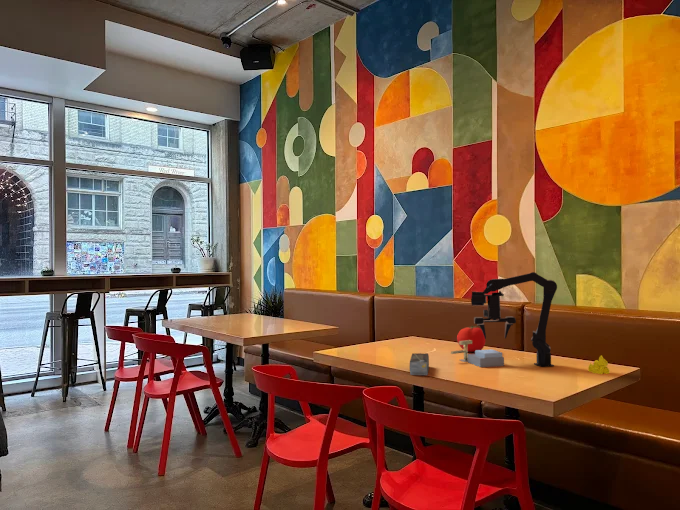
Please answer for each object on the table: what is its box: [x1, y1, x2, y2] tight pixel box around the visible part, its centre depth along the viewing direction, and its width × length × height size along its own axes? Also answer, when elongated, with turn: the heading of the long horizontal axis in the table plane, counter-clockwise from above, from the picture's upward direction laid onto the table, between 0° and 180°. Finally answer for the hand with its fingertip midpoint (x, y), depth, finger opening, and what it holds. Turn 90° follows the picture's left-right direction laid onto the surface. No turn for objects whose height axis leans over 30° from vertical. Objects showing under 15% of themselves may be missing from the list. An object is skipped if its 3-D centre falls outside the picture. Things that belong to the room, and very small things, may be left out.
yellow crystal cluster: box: [587, 354, 610, 375], centre depth 223 cm, size 6×8×8 cm
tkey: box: [450, 340, 472, 360], centre depth 249 cm, size 13×2×9 cm, turn 121°
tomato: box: [456, 324, 486, 353], centre depth 275 cm, size 16×14×14 cm
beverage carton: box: [409, 352, 430, 376], centre depth 229 cm, size 8×19×7 cm, turn 169°
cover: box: [474, 349, 503, 358], centre depth 241 cm, size 9×9×2 cm
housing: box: [459, 353, 505, 368], centre depth 245 cm, size 18×13×4 cm
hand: (495, 338), depth 246 cm, fingers open, 9 cm apart
